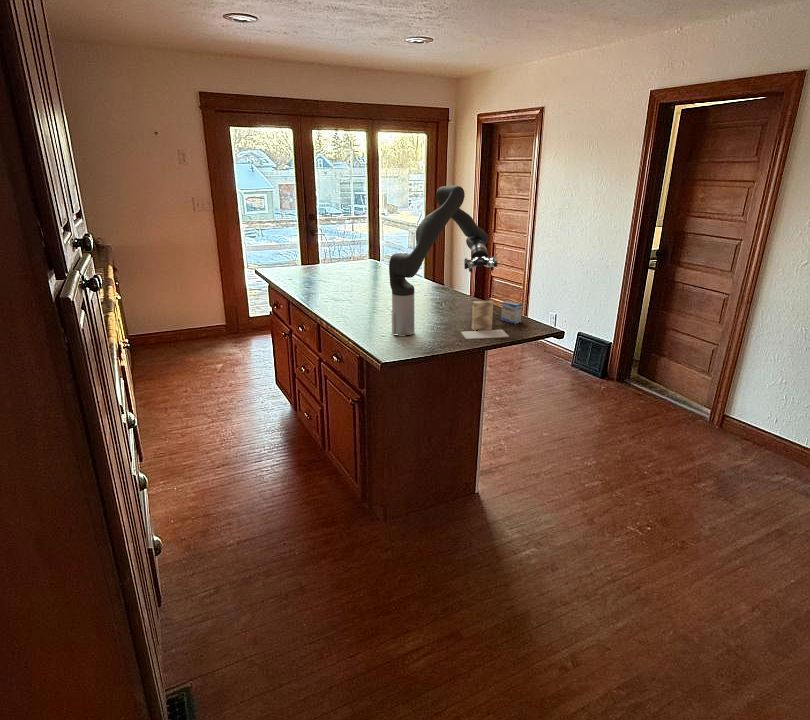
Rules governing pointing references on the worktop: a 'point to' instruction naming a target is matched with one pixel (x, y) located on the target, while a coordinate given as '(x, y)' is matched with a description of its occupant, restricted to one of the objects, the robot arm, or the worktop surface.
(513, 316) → the medicine box
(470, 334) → the grey mat
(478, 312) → the birch block
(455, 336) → the worktop surface
